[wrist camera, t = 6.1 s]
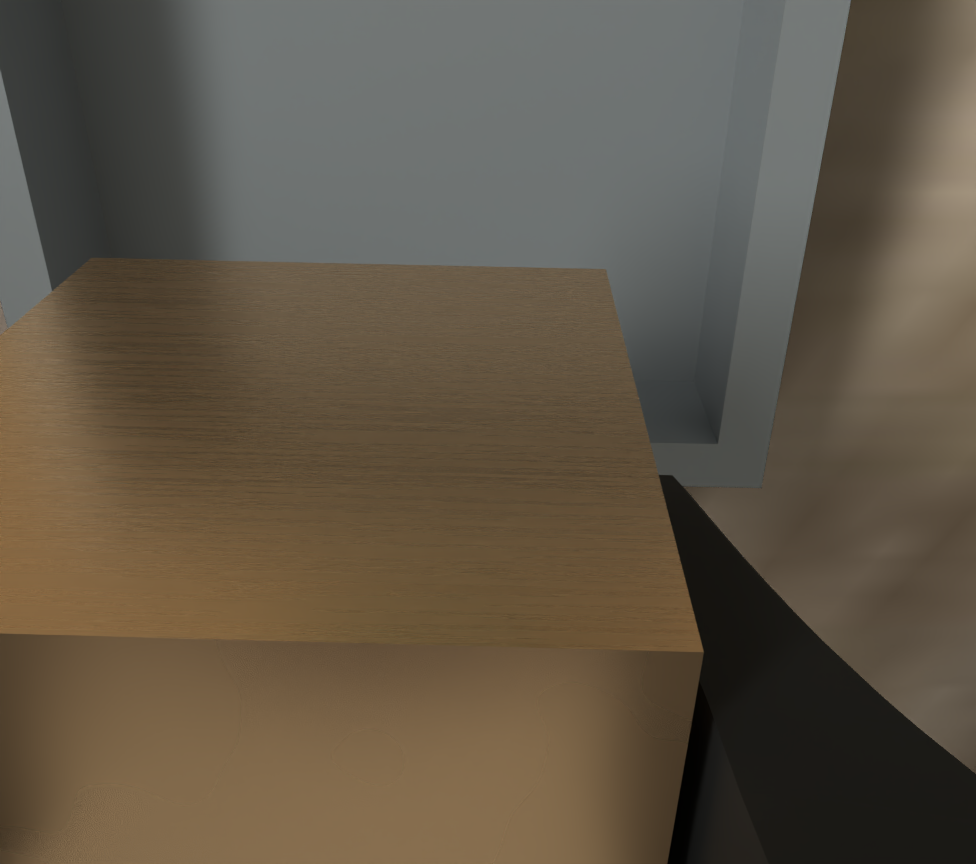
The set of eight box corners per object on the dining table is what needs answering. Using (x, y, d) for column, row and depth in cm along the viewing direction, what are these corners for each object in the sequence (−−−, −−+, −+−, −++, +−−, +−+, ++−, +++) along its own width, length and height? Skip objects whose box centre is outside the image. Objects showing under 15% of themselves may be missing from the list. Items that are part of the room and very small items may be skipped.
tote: (723, 401, 18) (761, 487, 15) (114, 389, 18) (46, 473, 15) (846, -404, 12) (940, -489, 9) (-55, -410, 12) (-211, -496, 9)
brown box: (574, 656, 12) (616, 1158, 7) (170, 645, 12) (-54, 1136, 7) (606, 268, 9) (702, 650, 5) (90, 258, 9) (-340, 624, 5)
